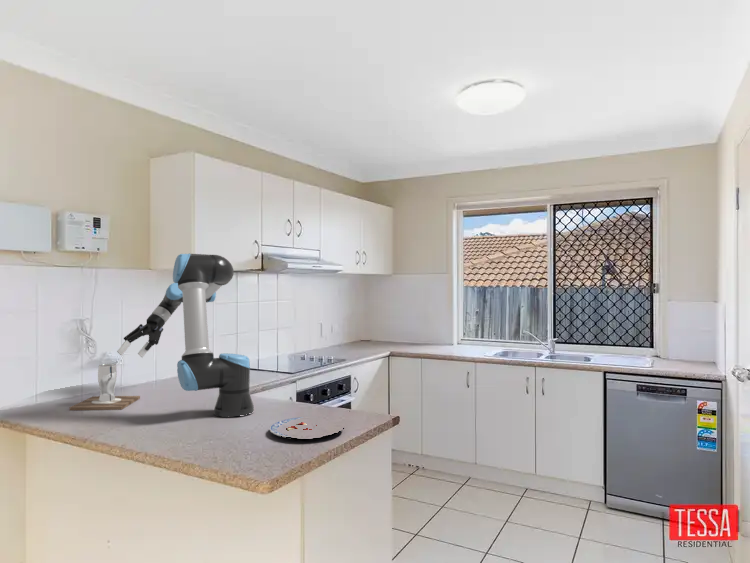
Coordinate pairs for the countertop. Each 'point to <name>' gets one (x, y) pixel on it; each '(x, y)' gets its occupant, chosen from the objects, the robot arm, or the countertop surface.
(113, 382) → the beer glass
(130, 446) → the countertop surface
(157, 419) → the countertop surface
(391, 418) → the countertop surface
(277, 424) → the ceramic plate
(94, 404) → the walnut board
